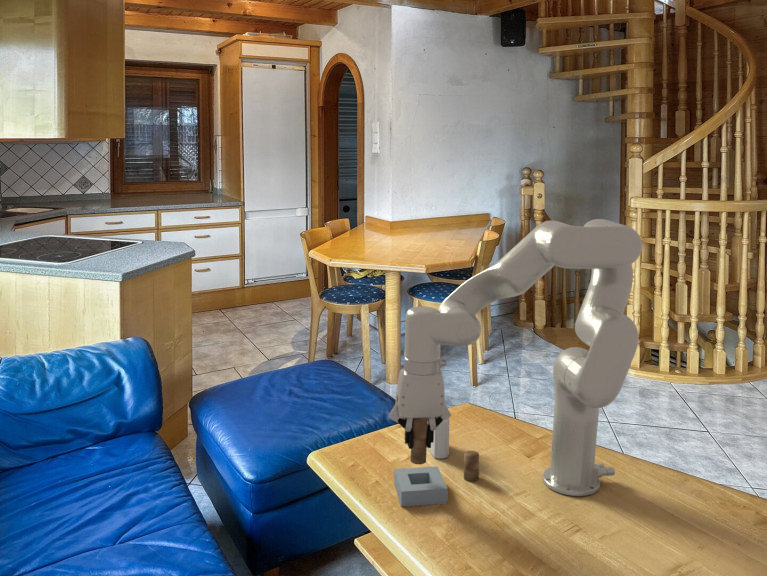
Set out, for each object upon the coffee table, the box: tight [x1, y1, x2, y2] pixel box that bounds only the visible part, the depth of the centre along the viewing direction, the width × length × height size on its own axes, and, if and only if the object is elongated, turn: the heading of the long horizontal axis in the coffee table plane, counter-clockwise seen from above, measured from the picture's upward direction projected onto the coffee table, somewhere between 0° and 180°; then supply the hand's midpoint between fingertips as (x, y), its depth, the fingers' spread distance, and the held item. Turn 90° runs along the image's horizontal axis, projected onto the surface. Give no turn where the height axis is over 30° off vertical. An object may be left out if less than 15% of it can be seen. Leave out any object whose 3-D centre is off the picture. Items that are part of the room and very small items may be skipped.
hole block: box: [393, 465, 448, 507], centre depth 150 cm, size 10×10×4 cm
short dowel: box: [463, 450, 480, 483], centre depth 157 cm, size 3×3×6 cm
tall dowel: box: [410, 418, 428, 465], centre depth 147 cm, size 3×3×12 cm
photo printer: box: [427, 417, 450, 459], centre depth 170 cm, size 10×4×12 cm, turn 12°
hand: (418, 444), depth 148 cm, fingers closed on tall dowel, 3 cm apart
